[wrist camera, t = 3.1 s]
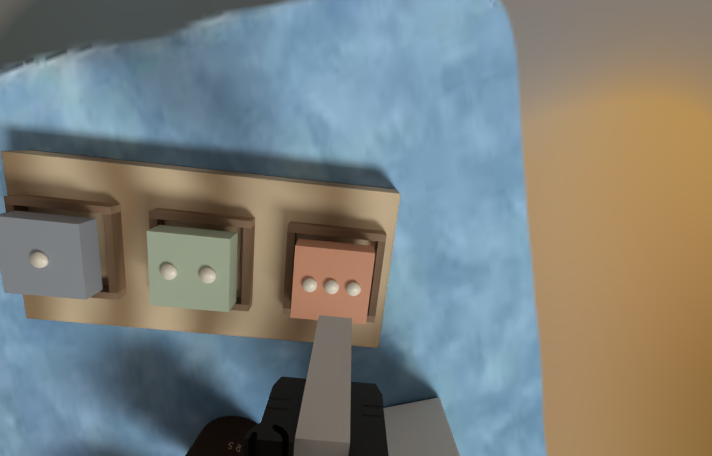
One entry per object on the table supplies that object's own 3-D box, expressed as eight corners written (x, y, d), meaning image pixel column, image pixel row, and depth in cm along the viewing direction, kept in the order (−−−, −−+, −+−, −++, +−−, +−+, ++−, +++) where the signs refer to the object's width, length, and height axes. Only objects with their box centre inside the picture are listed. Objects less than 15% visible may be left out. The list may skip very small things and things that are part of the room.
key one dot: (26, 282, 23) (1, 293, 21) (15, 210, 22) (-12, 216, 20) (102, 289, 23) (83, 301, 22) (96, 218, 22) (76, 225, 20)
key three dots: (293, 306, 24) (289, 319, 22) (298, 238, 23) (294, 246, 21) (364, 313, 24) (366, 325, 22) (373, 245, 23) (375, 254, 21)
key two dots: (162, 294, 23) (148, 306, 22) (160, 224, 22) (144, 231, 20) (236, 301, 24) (227, 313, 22) (237, 232, 22) (228, 240, 21)
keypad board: (49, 305, 27) (13, 325, 24) (29, 150, 24) (-15, 151, 21) (376, 333, 28) (379, 355, 25) (396, 189, 25) (402, 196, 22)
